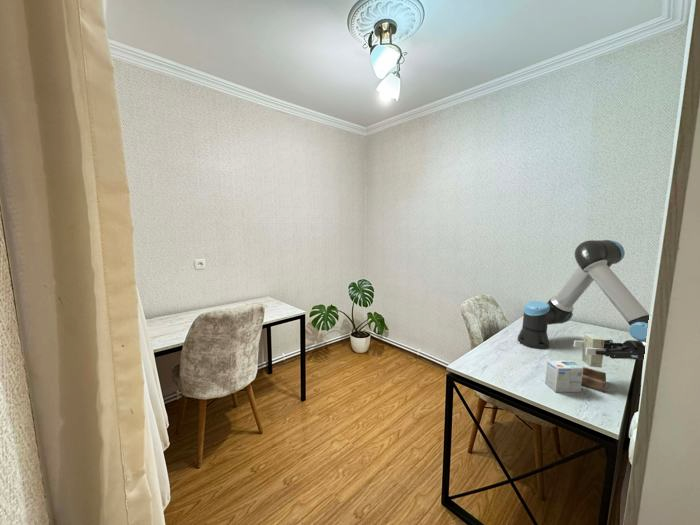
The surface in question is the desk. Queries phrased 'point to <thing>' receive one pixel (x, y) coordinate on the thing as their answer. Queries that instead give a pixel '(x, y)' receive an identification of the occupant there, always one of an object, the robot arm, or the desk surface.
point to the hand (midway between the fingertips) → (580, 347)
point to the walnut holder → (594, 379)
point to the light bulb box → (564, 376)
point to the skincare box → (592, 342)
